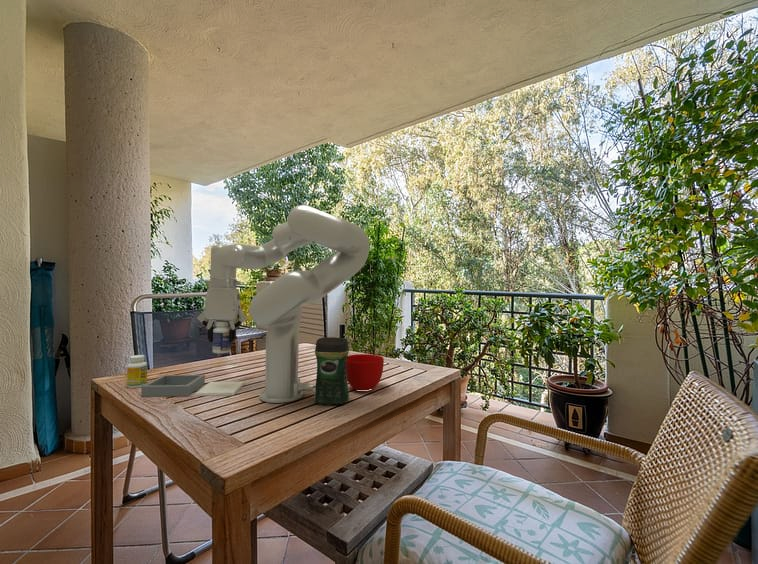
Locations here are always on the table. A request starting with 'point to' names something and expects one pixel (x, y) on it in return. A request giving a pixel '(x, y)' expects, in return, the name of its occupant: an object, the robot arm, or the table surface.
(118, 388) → the table surface
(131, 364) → the supplement bottle
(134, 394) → the table surface
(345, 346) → the coffee jar
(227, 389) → the tile
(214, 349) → the pill bottle
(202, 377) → the bin
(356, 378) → the ceramic cup
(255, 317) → the robot arm
